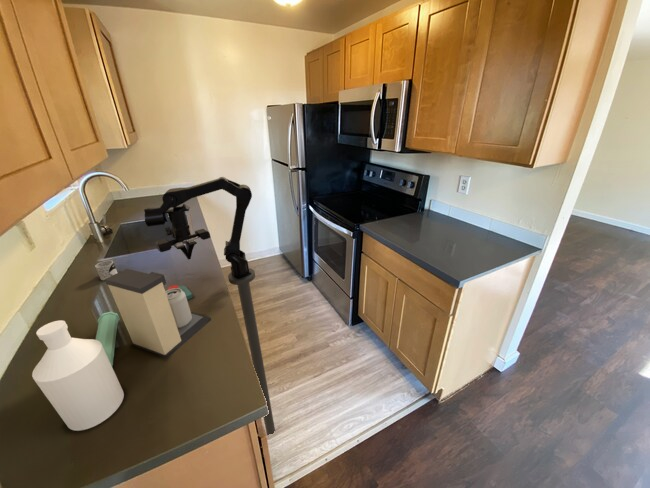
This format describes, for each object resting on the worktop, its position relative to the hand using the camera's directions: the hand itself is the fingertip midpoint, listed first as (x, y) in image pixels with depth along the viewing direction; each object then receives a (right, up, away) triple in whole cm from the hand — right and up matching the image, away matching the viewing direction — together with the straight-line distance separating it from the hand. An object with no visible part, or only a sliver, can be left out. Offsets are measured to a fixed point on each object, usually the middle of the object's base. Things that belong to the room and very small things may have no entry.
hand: (189, 259), depth 111 cm
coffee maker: (+5, -23, -20) cm, 31 cm away
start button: (-4, -13, -3) cm, 14 cm away
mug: (-45, -8, +17) cm, 49 cm away
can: (+6, -21, -18) cm, 28 cm away
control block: (-4, -15, -2) cm, 16 cm away
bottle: (-1, -34, -43) cm, 55 cm away
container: (-13, -27, -25) cm, 39 cm away
